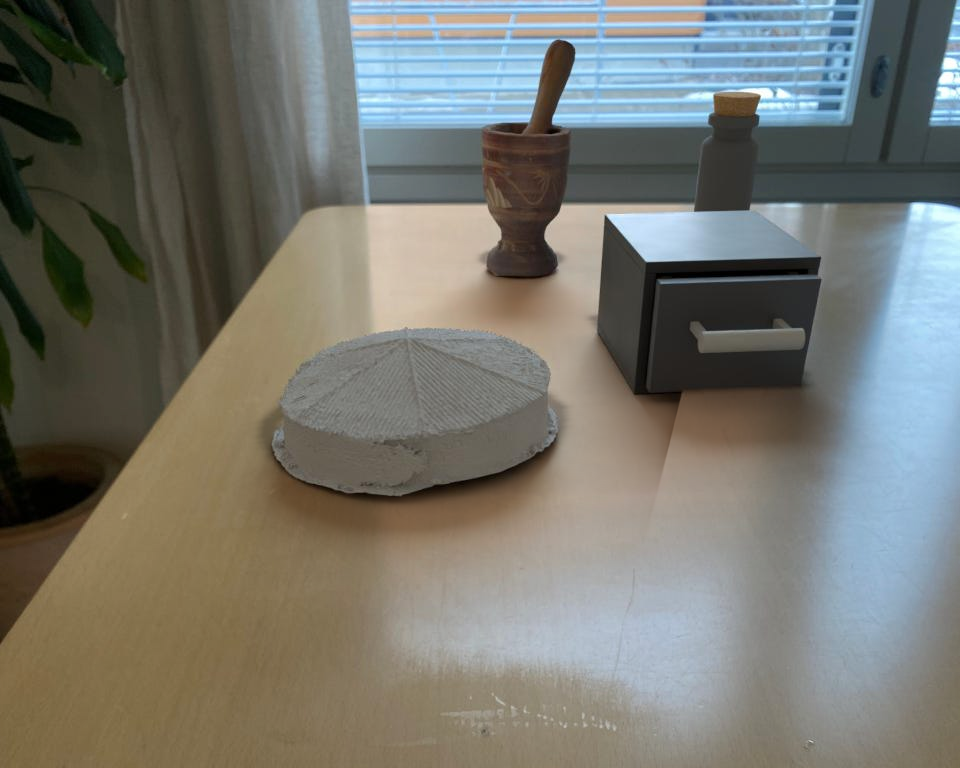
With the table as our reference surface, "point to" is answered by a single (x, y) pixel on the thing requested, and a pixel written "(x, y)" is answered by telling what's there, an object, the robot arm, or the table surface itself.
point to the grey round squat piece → (414, 411)
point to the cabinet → (678, 268)
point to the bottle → (729, 154)
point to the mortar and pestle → (528, 174)
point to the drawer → (730, 329)
